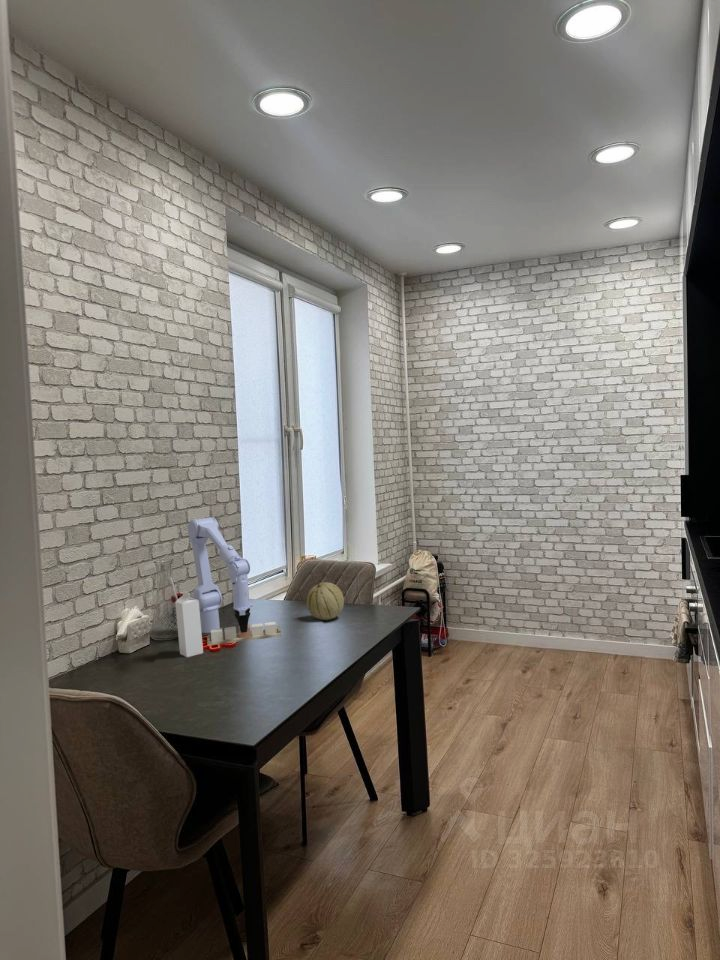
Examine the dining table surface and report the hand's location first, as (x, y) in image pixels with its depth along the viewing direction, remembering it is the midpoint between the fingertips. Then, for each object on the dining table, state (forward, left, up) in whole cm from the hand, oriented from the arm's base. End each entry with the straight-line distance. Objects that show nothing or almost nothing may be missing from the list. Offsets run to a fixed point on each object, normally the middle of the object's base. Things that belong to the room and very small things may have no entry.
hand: (244, 630), depth 244 cm
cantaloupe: (+25, +25, -4) cm, 36 cm away
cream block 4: (+9, +3, -3) cm, 10 cm away
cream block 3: (+4, +2, -3) cm, 5 cm away
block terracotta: (0, 0, -3) cm, 3 cm away
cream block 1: (-9, -3, -3) cm, 10 cm away
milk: (-13, -17, -4) cm, 22 cm away
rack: (0, 0, -3) cm, 3 cm away
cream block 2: (-5, -2, -3) cm, 5 cm away
